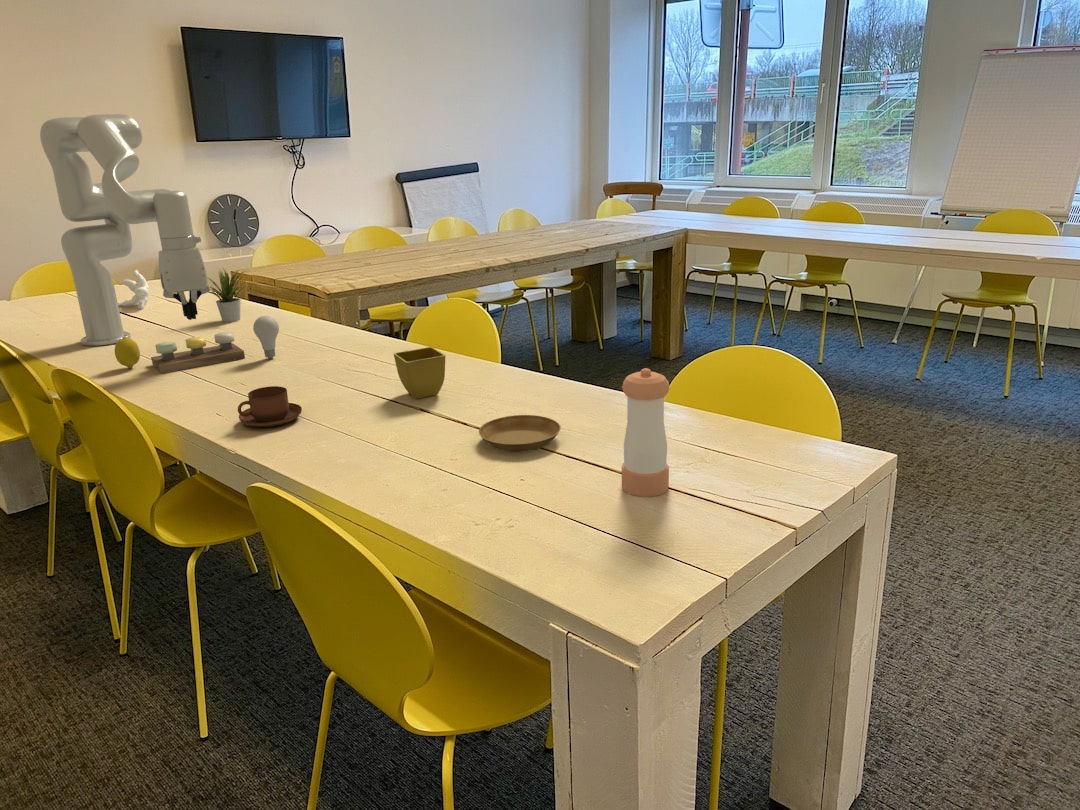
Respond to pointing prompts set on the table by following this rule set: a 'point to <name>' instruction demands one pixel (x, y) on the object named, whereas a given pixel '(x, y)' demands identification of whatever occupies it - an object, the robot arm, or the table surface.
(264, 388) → the cup and saucer
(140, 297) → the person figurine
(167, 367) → the button board
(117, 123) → the robot arm
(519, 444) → the plant saucer
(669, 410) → the table surface
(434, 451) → the table surface
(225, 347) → the grey button
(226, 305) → the house plant
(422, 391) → the flower pot
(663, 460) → the pepper shaker
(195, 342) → the yellow button
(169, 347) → the sage button
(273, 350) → the lightbulb
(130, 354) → the lemon
